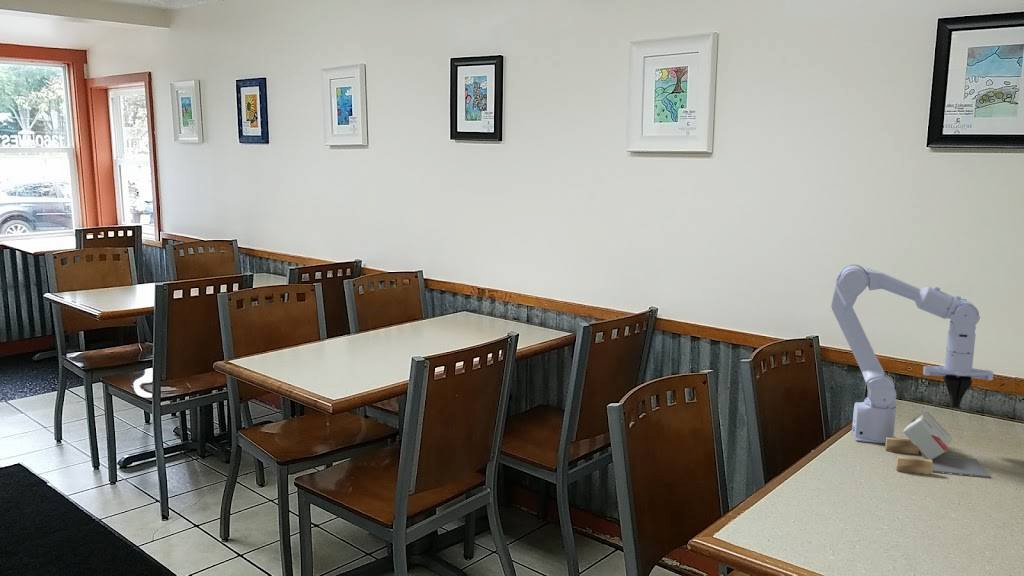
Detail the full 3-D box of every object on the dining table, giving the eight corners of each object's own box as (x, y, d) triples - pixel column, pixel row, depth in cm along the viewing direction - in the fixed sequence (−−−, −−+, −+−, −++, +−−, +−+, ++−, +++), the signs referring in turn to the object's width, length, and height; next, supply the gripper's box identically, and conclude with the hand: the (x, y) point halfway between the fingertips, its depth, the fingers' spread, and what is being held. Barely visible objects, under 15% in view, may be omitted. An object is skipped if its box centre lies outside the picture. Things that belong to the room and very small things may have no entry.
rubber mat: (932, 472, 173) (932, 470, 173) (921, 455, 184) (921, 453, 184) (990, 478, 170) (990, 476, 170) (975, 460, 180) (976, 458, 180)
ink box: (929, 462, 178) (935, 449, 188) (947, 450, 176) (953, 438, 185) (901, 432, 181) (909, 420, 190) (919, 419, 178) (926, 409, 188)
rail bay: (896, 471, 174) (898, 458, 173) (885, 449, 187) (886, 437, 187) (931, 474, 172) (932, 461, 171) (917, 452, 185) (918, 440, 185)
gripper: (930, 352, 183) (925, 408, 185) (999, 357, 179) (993, 414, 181) (923, 346, 190) (918, 400, 192) (990, 350, 186) (984, 405, 188)
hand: (954, 406), depth 187 cm, fingers closed
